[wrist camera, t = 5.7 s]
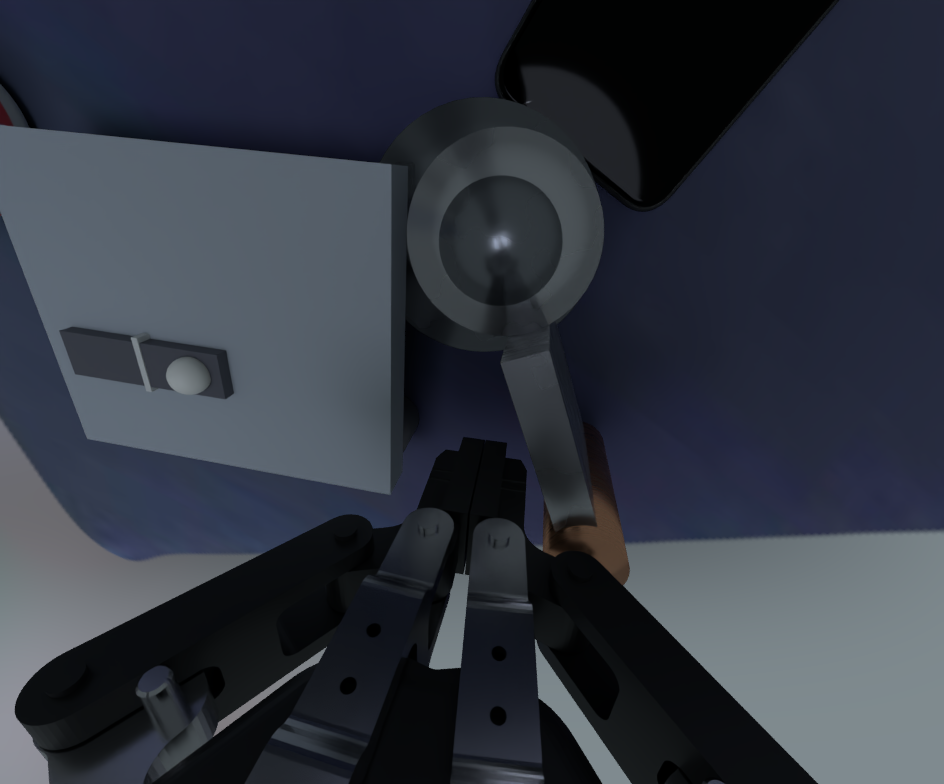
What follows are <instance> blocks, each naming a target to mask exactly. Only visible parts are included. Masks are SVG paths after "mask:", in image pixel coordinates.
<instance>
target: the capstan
mask: <svg viewBox="0 0 944 784" xmlns="http://www.w3.org/2000/svg"><path fill="white" fill-rule="evenodd" d="M380 163H382V164H392V165H401V166H408V202H407V255H406V307H405V319H406V320H407V321H408V322H409V323H410V324H411V325H412V326H414V327H415V328H416V329H417V330H419V331H420V332H422V333H423V334H425V335H427V336H428V337H430V338H432V339H434V340H436V341H438V342H440V343H443V344H445V345H448V346H451V347H455V348H458V349H463V350H469V351H482V352H487V351H500V350H504V352H503V356H502V359H501V367H502V370H503V373H504V376H505V379H506V382H507V385H508V388H509V391H510V394H511V397H512V400H513V404H514V407H515V410H516V413H517V416H518V419H519V422H520V425H521V428H522V431H523V434H524V437H525V441H526V444H527V447H528V450H529V453H530V456H531V459H532V462H533V465H534V468H535V471H536V474H537V477H538V481H539V484H540V487H541V490H542V493H543V496H544V519H543V552H545V553H548V554H550V555H552V556H554V557H556V556H557V555H558V554H560V553H562V552H565V551H580V552H584V553H586V554H589V555H591V556H592V557H594V558H595V559H597V560H598V561H599V562H600V563H601V564H602V565H603V566H604V567H605V568H606V569H607V570H608V571H609V572H610V573H611V574H612V575H613V576H614V577H615V578H616V579H617V580H618V581H619V582H620V583H621V584H622V585H624V584H625V582H626V581H627V579H628V576H629V572H630V571H629V570H630V568H629V562H628V558H627V552H626V548H625V543H624V538H623V533H622V528H621V523H620V519H619V514H618V509H617V504H616V499H615V494H614V490H613V485H612V480H611V475H610V470H609V466H608V461H607V456H606V451H605V446H604V441H603V438H602V436H601V434H600V433H599V431H598V430H597V429H596V428H595V427H593V426H592V425H590V424H588V423H585V422H582V419H581V415H580V411H579V407H578V403H577V399H576V396H575V392H574V388H573V384H572V380H571V376H570V372H569V369H568V365H567V361H566V357H565V353H564V349H563V345H562V342H561V338H560V334H559V330H558V326H557V324H558V323H559V322H560V321H562V320H563V319H564V318H565V316H566V315H567V314H568V313H569V312H570V311H571V310H572V309H573V308H574V306H575V305H576V303H577V302H578V301H579V299H580V298H581V297H582V295H583V294H584V292H585V291H586V290H587V288H588V286H589V284H590V283H591V281H592V279H593V277H594V275H595V272H596V270H597V267H598V265H599V261H600V257H601V253H602V248H603V240H604V219H603V211H602V206H601V202H600V198H599V195H598V192H597V188H596V184H595V181H594V179H593V176H592V174H591V171H590V169H589V167H588V164H587V163H586V161H585V159H584V158H583V156H582V154H581V152H580V151H579V149H578V148H577V147H576V145H575V144H574V143H573V142H572V140H571V139H570V138H569V137H568V135H567V134H566V133H565V132H564V131H562V130H561V129H560V128H559V127H558V126H557V125H556V124H555V123H554V122H552V121H551V120H549V119H548V118H547V117H545V116H544V115H542V114H541V113H539V112H537V111H535V110H533V109H531V108H529V107H527V106H525V105H522V104H519V103H516V102H512V101H509V100H505V99H498V98H490V97H479V98H467V99H461V100H456V101H452V102H449V103H447V104H444V105H441V106H438V107H436V108H434V109H432V110H431V111H429V112H427V113H425V114H423V115H422V116H420V117H419V118H418V119H416V120H415V121H414V122H412V123H411V124H410V125H408V126H407V127H406V128H405V129H404V130H403V131H402V132H401V133H400V134H399V135H398V136H397V137H396V139H395V140H394V141H393V143H392V144H391V145H390V147H389V148H388V149H387V151H386V152H385V154H384V156H383V158H382V159H381V161H380Z"/></svg>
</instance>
